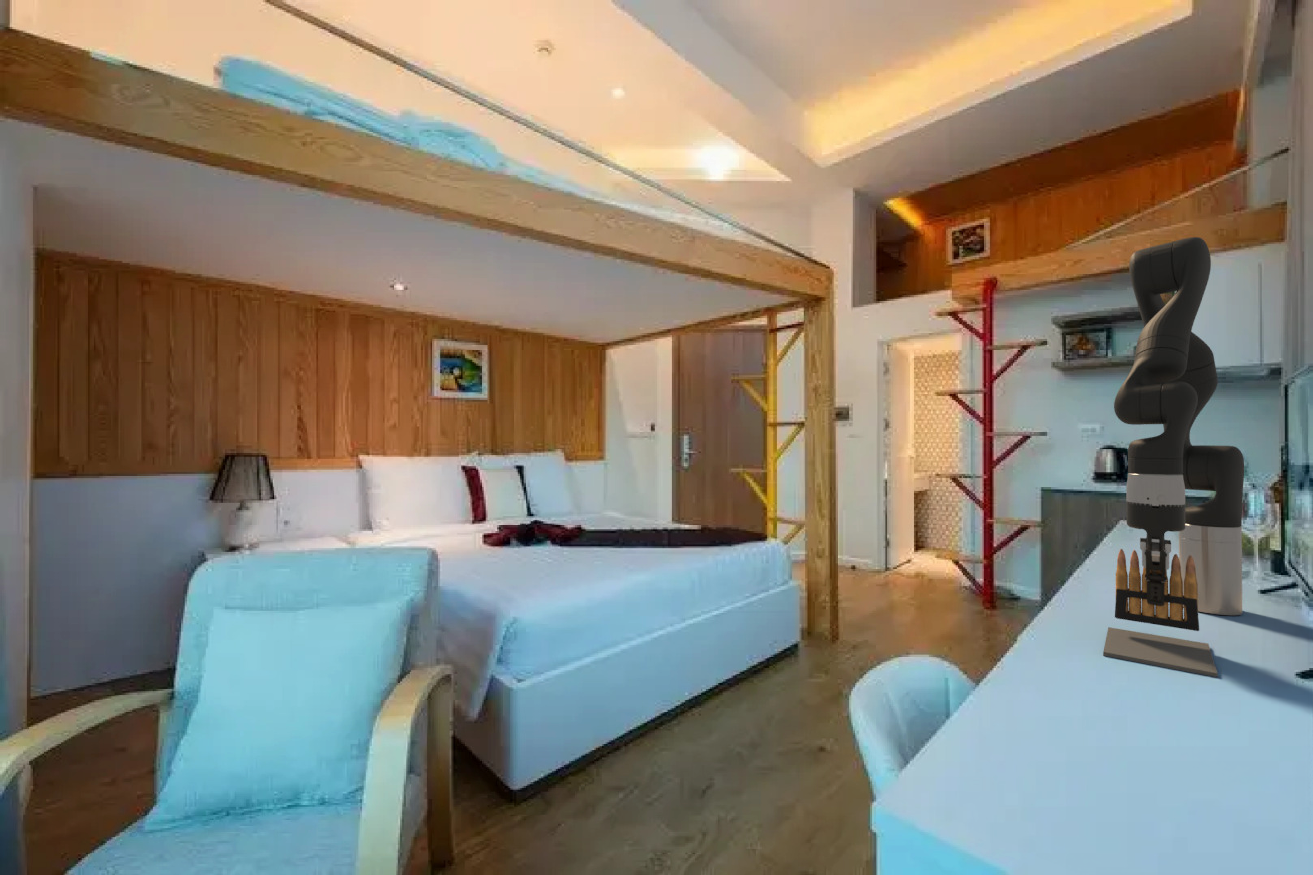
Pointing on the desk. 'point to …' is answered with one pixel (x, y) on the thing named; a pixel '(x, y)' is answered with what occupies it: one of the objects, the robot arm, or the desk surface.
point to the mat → (1160, 651)
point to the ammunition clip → (1170, 611)
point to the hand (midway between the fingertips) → (1155, 602)
